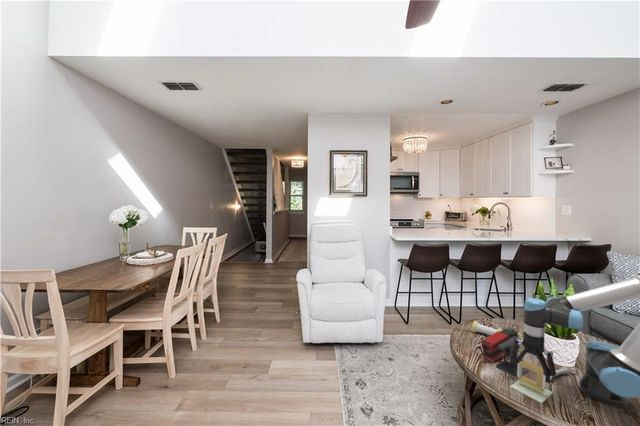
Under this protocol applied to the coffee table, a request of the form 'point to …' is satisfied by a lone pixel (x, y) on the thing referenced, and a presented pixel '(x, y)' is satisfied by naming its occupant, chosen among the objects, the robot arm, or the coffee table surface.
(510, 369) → the stand
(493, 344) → the toy gun
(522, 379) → the c link
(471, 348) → the coffee table surface
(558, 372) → the grey bone
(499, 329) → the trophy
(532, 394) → the mat
